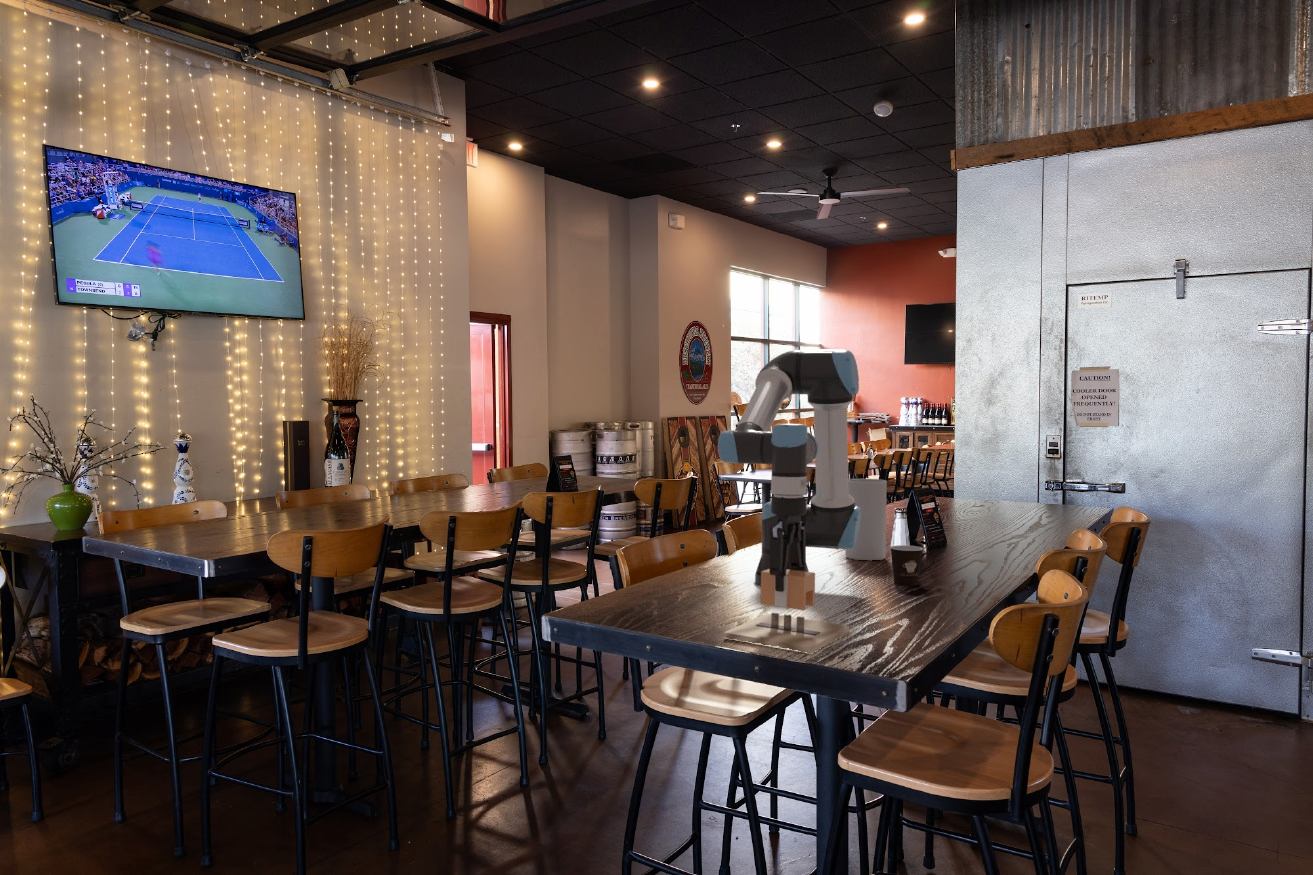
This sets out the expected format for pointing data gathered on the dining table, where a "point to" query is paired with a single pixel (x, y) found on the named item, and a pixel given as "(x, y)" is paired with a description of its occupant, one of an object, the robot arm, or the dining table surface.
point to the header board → (788, 632)
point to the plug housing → (790, 589)
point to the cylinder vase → (869, 519)
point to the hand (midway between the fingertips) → (787, 603)
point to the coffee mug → (907, 564)
